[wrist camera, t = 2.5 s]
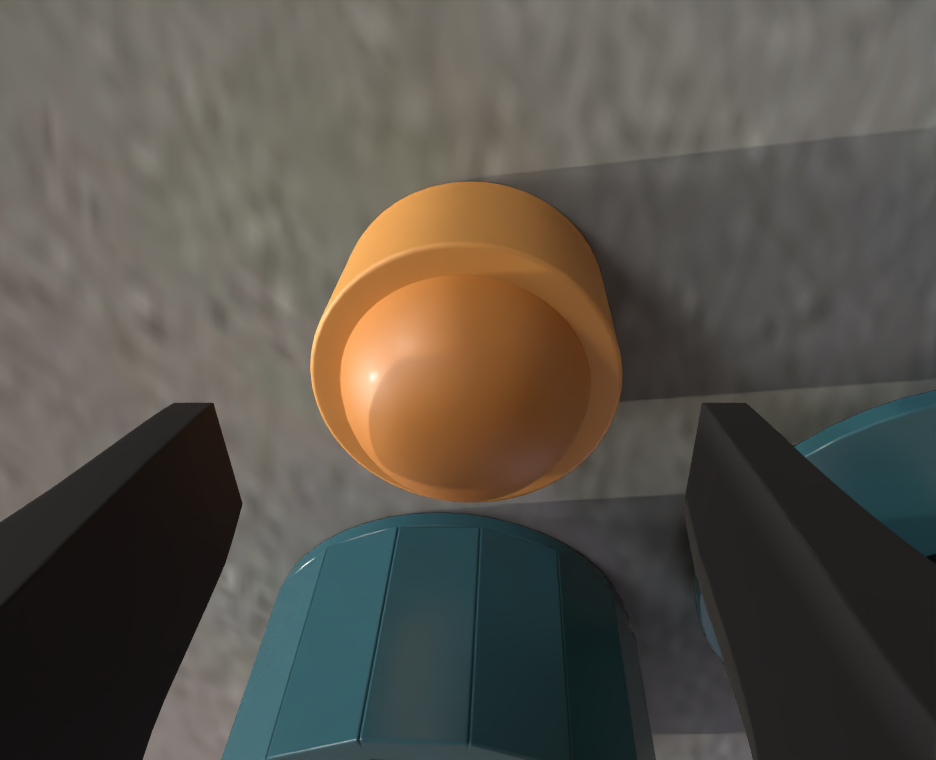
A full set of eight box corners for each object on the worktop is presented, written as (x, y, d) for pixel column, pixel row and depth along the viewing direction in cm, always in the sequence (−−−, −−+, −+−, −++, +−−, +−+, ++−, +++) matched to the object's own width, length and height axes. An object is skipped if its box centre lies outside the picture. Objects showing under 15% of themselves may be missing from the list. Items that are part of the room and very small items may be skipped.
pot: (648, 513, 18) (701, 751, 13) (615, 742, 23) (643, 969, 18) (240, 509, 18) (138, 733, 13) (306, 733, 24) (252, 948, 19)
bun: (614, 176, 13) (659, 294, 9) (595, 413, 16) (623, 580, 12) (326, 182, 13) (246, 298, 9) (360, 412, 16) (310, 574, 12)
